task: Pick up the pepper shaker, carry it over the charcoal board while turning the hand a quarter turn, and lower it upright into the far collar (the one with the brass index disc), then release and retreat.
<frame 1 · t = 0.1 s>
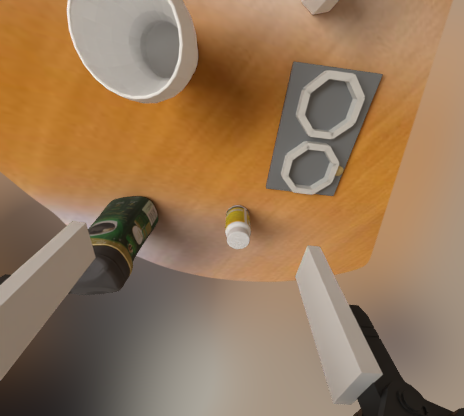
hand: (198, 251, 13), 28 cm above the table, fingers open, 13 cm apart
cup: (171, 53, 31), on the table
coffee jar: (136, 211, 45), on the table
collar board: (315, 137, 37), on the table
supplement bottle: (237, 213, 45), on the table
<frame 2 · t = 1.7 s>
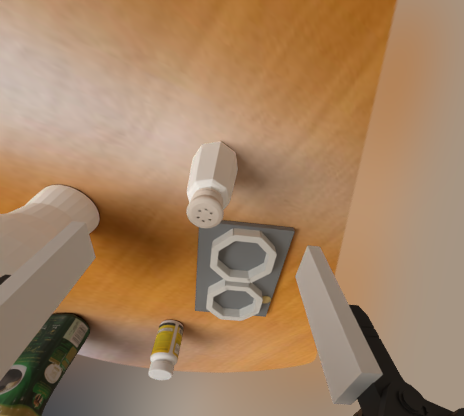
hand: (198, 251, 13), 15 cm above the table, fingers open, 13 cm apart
pepper shaker: (215, 162, 26), on the table
cup: (71, 209, 30), on the table
coffee jar: (67, 322, 44), on the table
collar board: (237, 272, 35), on the table
supplement bottle: (172, 324, 44), on the table
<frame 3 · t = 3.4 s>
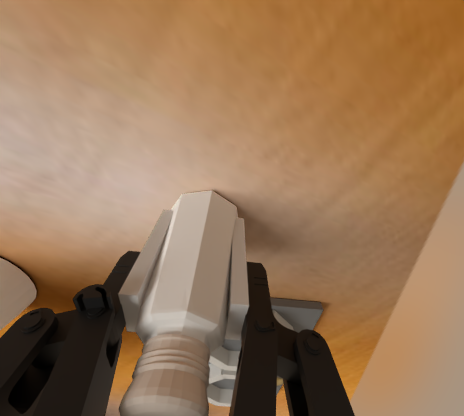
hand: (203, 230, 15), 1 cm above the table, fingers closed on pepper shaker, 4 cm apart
pepper shaker: (205, 219, 16), on the table, touching gripper
collar board: (239, 350, 26), on the table
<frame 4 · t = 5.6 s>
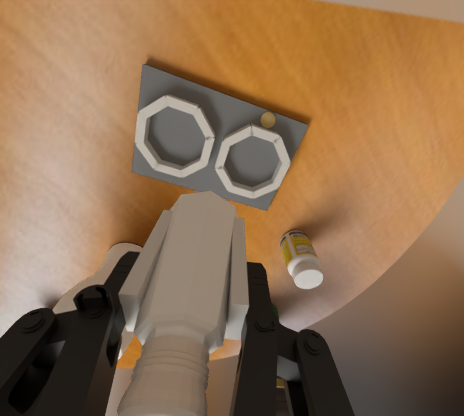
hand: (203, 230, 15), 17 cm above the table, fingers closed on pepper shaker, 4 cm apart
pepper shaker: (204, 220, 16), point 15 cm above the table, touching gripper
cup: (131, 258, 39), on the table
coffee jar: (258, 312, 48), on the table
collar board: (215, 148, 29), on the table
supplement bottle: (293, 239, 37), on the table
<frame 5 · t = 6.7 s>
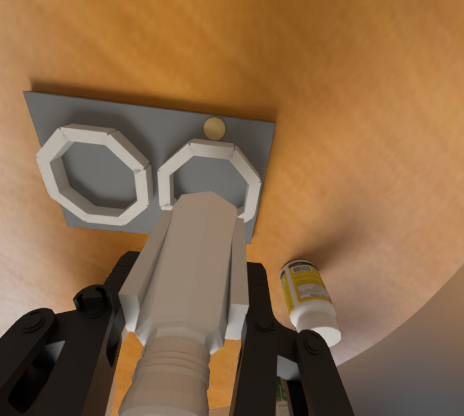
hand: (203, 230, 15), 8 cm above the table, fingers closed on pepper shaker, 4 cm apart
pepper shaker: (204, 220, 16), point 6 cm above the table, touching gripper
coffee jar: (276, 353, 39), on the table
collar board: (160, 178, 21), on the table
supplement bottle: (297, 270, 28), on the table
when the fingers open (3 cm above the table, at t = 7.7 s): pepper shaker drops 2 cm, resting on collar board.
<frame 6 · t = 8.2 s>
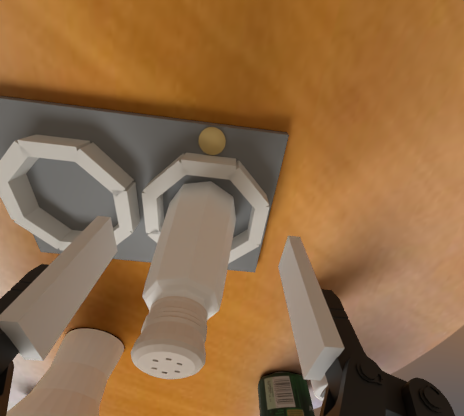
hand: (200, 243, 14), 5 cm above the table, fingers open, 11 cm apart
pepper shaker: (204, 208, 18), point 1 cm above the table, touching collar board
cup: (96, 342, 30), on the table
coffee jar: (282, 381, 36), on the table
collar board: (147, 198, 18), on the table
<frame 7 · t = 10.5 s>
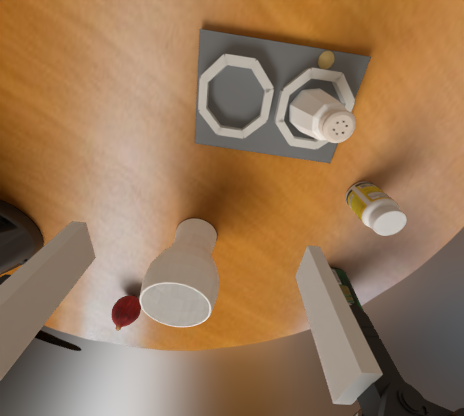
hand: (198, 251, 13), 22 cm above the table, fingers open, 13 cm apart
pepper shaker: (308, 110, 29), point 1 cm above the table, touching collar board
cup: (196, 234, 41), on the table
coffee jar: (325, 281, 46), on the table
onion: (134, 295, 52), on the table
collar board: (272, 104, 29), on the table
supplement bottle: (359, 193, 35), on the table
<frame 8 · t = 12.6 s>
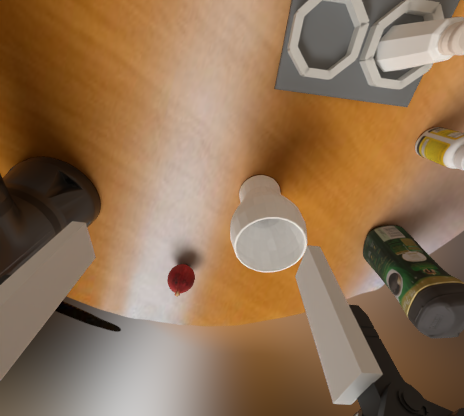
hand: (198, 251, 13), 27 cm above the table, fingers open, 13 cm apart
pepper shaker: (394, 49, 29), point 1 cm above the table, touching collar board
cup: (259, 193, 41), on the table
coffee jar: (380, 240, 47), on the table
onion: (184, 265, 52), on the table
collar board: (358, 44, 29), on the table
supplement bottle: (428, 141, 36), on the table
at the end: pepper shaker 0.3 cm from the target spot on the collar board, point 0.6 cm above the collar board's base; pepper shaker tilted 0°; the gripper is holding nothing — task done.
